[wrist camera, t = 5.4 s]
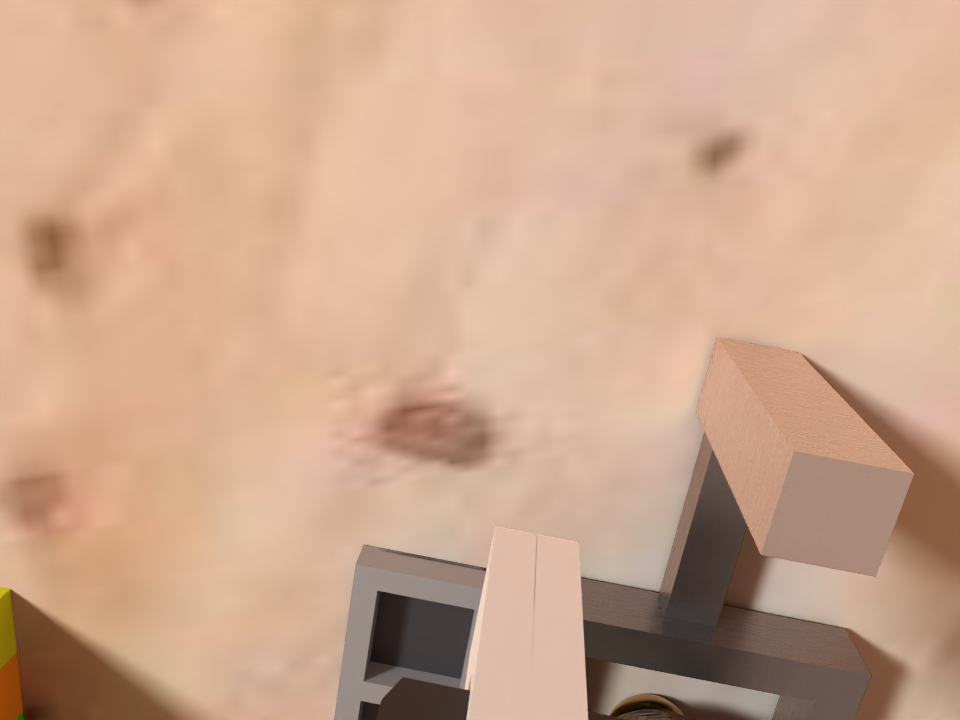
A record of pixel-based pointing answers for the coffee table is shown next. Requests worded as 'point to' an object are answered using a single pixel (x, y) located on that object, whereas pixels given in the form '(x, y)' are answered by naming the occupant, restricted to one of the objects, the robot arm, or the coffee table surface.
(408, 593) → the tray
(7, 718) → the puzzle toy
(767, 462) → the grey angular frame
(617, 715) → the ornate patterned bowl
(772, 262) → the coffee table surface
